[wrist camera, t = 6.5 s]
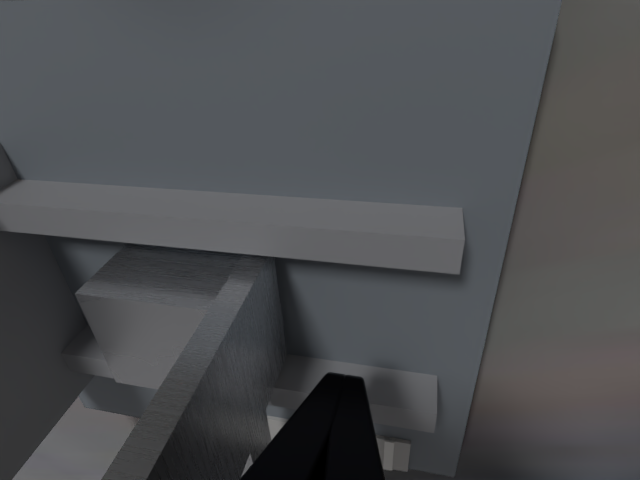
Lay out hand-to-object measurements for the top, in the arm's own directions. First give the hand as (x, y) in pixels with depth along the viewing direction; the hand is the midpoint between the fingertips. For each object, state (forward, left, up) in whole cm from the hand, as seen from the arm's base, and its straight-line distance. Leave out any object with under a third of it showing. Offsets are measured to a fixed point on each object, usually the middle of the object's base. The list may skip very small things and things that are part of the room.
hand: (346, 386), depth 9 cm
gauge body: (+4, 0, -4) cm, 5 cm away
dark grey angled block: (+4, +1, -2) cm, 5 cm away
